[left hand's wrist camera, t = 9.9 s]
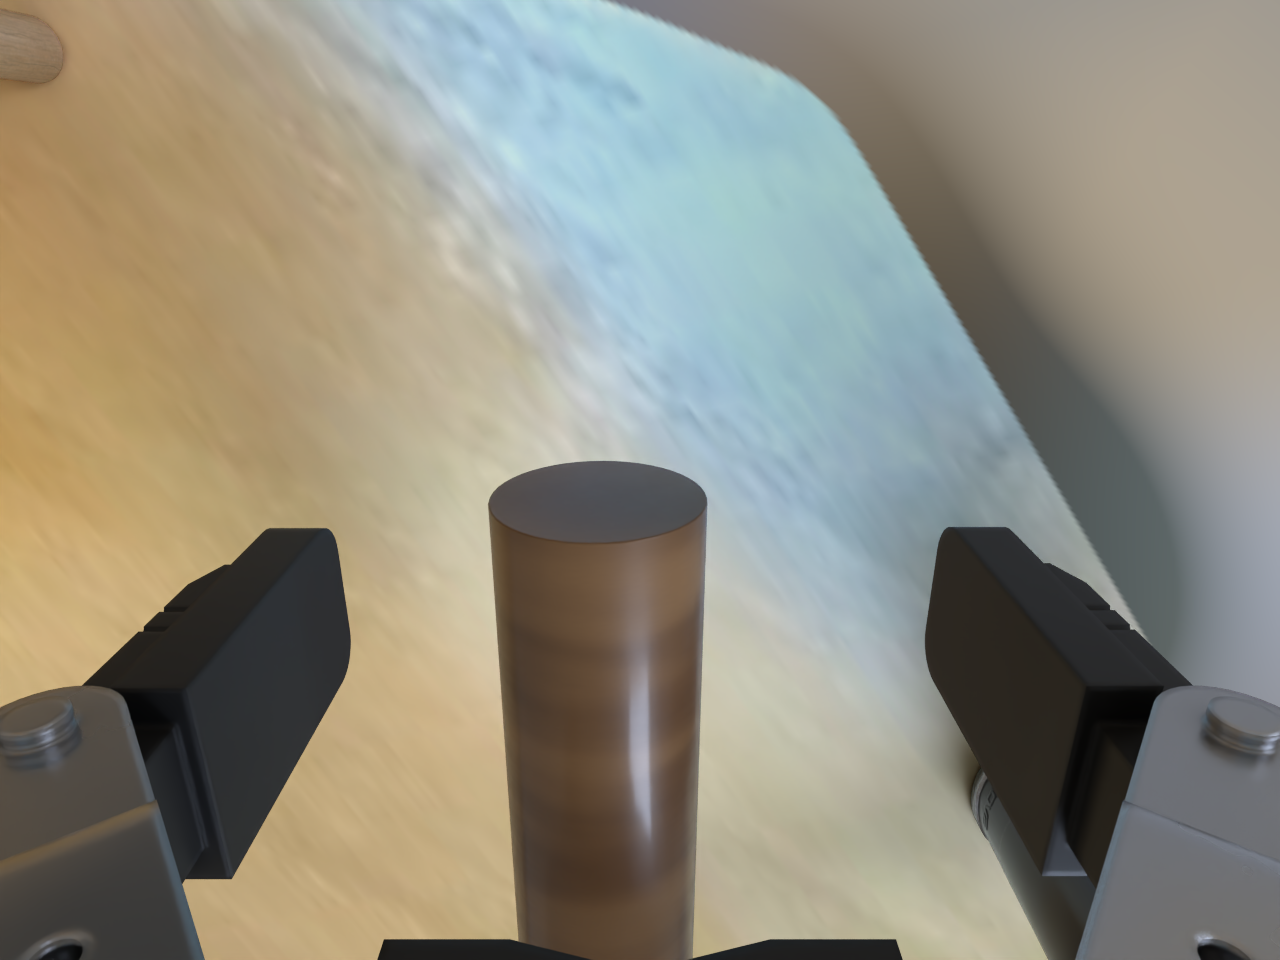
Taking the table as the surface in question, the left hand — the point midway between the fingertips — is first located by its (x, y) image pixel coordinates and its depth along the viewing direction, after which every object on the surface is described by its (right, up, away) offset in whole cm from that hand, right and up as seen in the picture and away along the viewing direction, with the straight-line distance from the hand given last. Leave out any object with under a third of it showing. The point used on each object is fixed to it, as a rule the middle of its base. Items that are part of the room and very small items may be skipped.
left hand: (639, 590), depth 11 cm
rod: (-1, -9, +19) cm, 22 cm away
